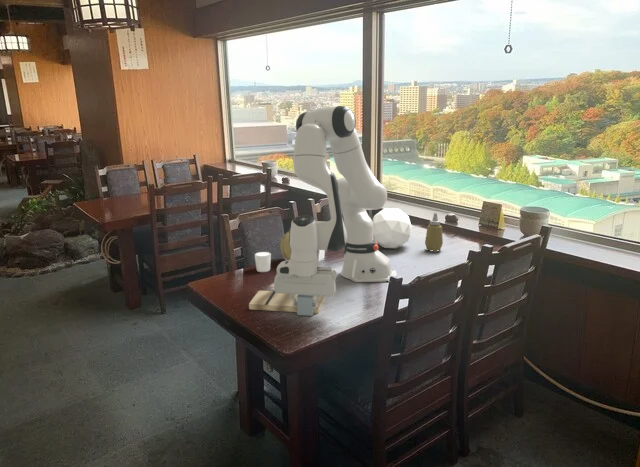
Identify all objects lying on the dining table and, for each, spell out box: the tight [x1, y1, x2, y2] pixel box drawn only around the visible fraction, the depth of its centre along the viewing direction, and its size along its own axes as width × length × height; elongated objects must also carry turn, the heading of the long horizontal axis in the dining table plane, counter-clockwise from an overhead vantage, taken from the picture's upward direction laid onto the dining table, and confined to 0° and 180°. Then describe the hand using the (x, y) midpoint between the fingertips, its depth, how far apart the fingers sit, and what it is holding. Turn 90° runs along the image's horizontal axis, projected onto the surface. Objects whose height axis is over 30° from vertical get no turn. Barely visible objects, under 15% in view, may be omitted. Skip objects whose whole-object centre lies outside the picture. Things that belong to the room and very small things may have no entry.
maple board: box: [248, 290, 325, 314], centre depth 168 cm, size 24×12×2 cm, turn 81°
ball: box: [372, 207, 413, 249], centre depth 228 cm, size 19×20×20 cm
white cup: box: [254, 251, 272, 273], centre depth 201 cm, size 7×7×7 cm
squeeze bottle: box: [424, 212, 444, 251], centre depth 222 cm, size 8×8×18 cm
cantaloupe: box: [279, 228, 292, 260], centre depth 210 cm, size 15×15×15 cm
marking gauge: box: [296, 294, 315, 317], centre depth 164 cm, size 5×14×6 cm, turn 171°
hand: (305, 306), depth 159 cm, fingers closed on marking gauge, 5 cm apart
